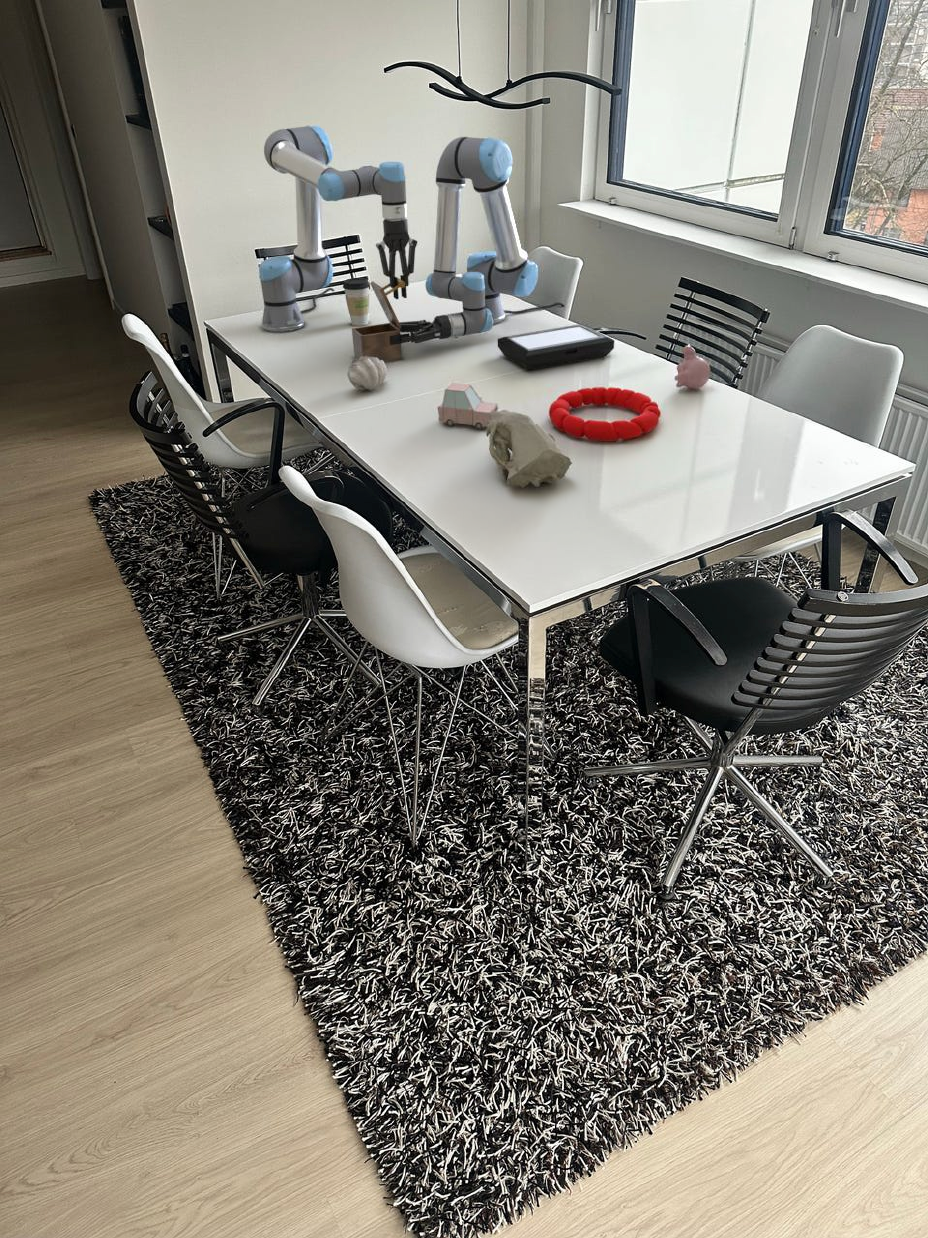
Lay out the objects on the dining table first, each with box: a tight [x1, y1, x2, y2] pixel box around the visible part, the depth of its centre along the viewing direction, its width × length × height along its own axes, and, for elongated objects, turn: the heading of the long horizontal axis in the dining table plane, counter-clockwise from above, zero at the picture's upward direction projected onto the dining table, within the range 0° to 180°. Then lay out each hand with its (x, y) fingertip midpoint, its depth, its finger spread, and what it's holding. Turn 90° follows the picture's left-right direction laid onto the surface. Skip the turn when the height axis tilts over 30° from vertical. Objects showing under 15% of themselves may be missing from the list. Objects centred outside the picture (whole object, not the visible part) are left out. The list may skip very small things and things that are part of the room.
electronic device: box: [497, 323, 615, 371], centre depth 288 cm, size 32×6×20 cm
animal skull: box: [485, 409, 573, 489], centre depth 216 cm, size 17×25×20 cm
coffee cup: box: [342, 277, 371, 327], centre depth 323 cm, size 10×10×15 cm
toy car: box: [437, 382, 499, 431], centre depth 243 cm, size 9×15×10 cm, turn 70°
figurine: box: [674, 344, 711, 390], centre depth 259 cm, size 9×11×12 cm
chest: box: [351, 322, 403, 363], centre depth 291 cm, size 13×10×10 cm
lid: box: [369, 276, 405, 329], centre depth 286 cm, size 14×10×9 cm
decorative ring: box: [548, 386, 661, 442], centre depth 242 cm, size 7×30×30 cm
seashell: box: [347, 356, 388, 391], centre depth 267 cm, size 10×15×10 cm
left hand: (400, 297), depth 286 cm, fingers closed on lid, 2 cm apart
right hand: (385, 336), depth 291 cm, fingers closed on chest, 10 cm apart
